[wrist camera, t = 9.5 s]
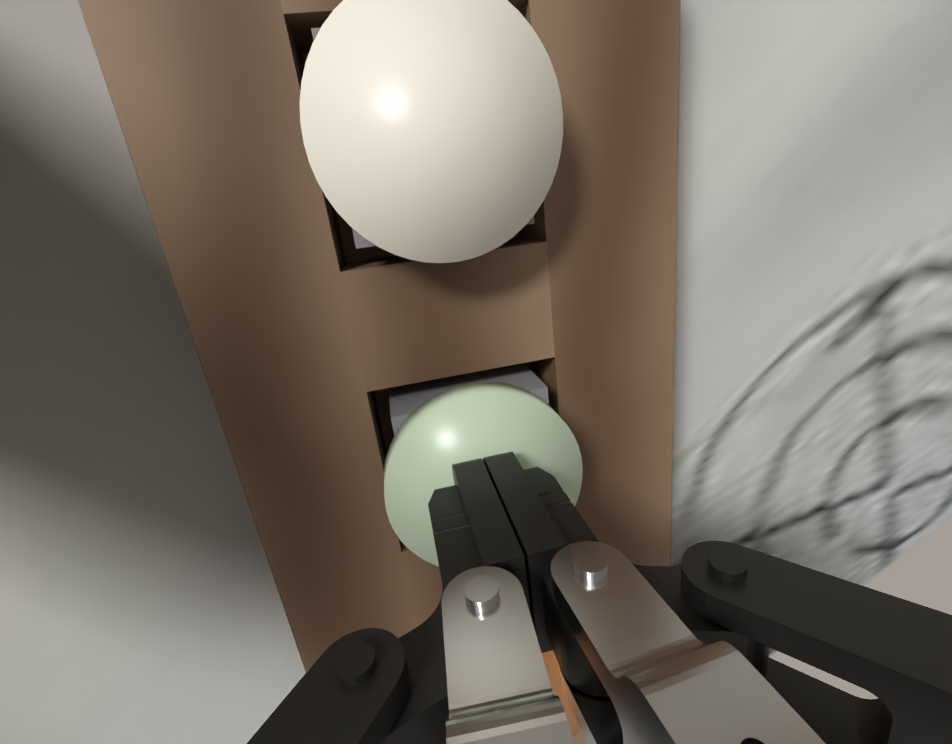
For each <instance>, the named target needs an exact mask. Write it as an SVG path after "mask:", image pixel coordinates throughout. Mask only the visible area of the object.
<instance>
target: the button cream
mask: <svg viewBox="0 0 952 744" xmlns="http://www.w3.org/2000/svg"><path fill="white" fill-rule="evenodd" d="M311 31H312V36H313V41H314V42H313V43H312V46H311V49H310V52H309V54H308V57H307V60H306V63H305V67H304V72H303V77H302V81H301V91H300V124H301V131H302V137H303V143H304V146H305V150H306V153H307V157H308V160H309V163H310V166H311V168H312V171H313V173H314V175H315V178H316V180H317V182H318V184H319V185H320V187H321V189H322V191H323V193H324V194H325V196H326V198H327V199H328V200H329V202H330V203H331V205H332V206H333V207H334V209H335V210H336V211H337V213H338V214H339V215H340V216H341V217H342V218H343V219H344V220H345V221H346V222H347V223H348V224H349V225H350V226H351V227H352V231H353V236H354V241H355V246H356V249H358V248H365V247H372V246H378V247H380V248H382V249H384V250H386V251H388V252H390V253H392V254H394V255H397V256H400V257H404V258H407V259H410V260H415V261H420V262H427V263H451V262H459V261H464V260H468V259H472V258H475V257H478V256H481V255H483V254H486V253H488V252H490V251H492V250H494V249H496V248H498V247H499V246H501V245H502V244H504V243H505V242H507V241H508V240H510V239H511V238H512V237H514V236H515V235H516V234H517V233H518V232H519V231H520V230H521V229H522V228H523V227H524V226H525V225H528V224H535V221H534V215H535V213H536V212H537V210H538V209H539V207H540V206H541V204H542V202H543V201H544V199H545V197H546V195H547V193H548V191H549V189H550V187H551V185H552V182H553V179H554V176H555V174H556V171H557V167H558V163H559V159H560V154H561V148H562V139H563V110H562V101H561V94H560V90H559V86H558V81H557V77H556V74H555V72H554V69H553V66H552V63H551V60H550V58H549V56H548V54H547V52H546V50H545V48H544V46H543V44H542V42H541V40H540V39H539V37H538V36H537V34H536V32H535V31H534V29H533V28H532V26H531V25H530V24H529V23H528V21H527V20H526V19H525V18H524V17H523V15H522V14H521V13H520V12H519V11H518V10H517V9H516V8H515V7H514V6H513V5H512V4H511V3H510V2H509V1H508V0H343V1H342V2H341V3H340V4H339V5H338V6H337V7H336V8H335V9H334V10H333V11H332V13H331V14H330V15H329V17H328V18H327V19H326V21H325V22H324V24H323V25H322V26H321V28H311Z"/></svg>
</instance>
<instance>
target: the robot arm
mask: <svg viewBox="0 0 952 744" xmlns="http://www.w3.org/2000/svg"><path fill="white" fill-rule="evenodd" d="M452 472H453V478H454V484H455V485H453V486H449V487H444V488H440V489H435V490H434V492H433V494H432V496H431V499H430V501H429V503H428V507H429V513H430V519H431V524H432V530H433V535H434V541H435V547H436V552H437V558H438V563H439V569H440V574H441V580H442V588H443V590H442V596H441V599H440V602H439V604H438V606H437V608H436V609H435V611H434V612H433V613H432V615H431V616H430V617H429V618H428V619H427V620H426V621H424V622H423V623H422V624H421V625H419V626H418V627H416V628H415V629H413V630H411V631H410V632H408V633H406V634H404V635H403V636H401V637H399V638H397V637H396V636H395V635H394V634H393V633H391V632H389V631H387V630H384V629H380V628H365V629H360V630H357V631H354V632H351V633H349V634H347V635H345V636H343V637H341V638H340V639H338V640H337V641H335V642H334V643H333V644H332V645H331V646H329V647H328V648H327V649H326V650H325V652H324V653H323V654H322V655H321V656H320V657H319V658H318V660H317V661H316V662H315V663H314V664H313V666H312V667H311V668H310V669H309V670H308V672H307V673H306V674H305V675H304V676H303V677H302V679H301V680H300V681H299V682H298V683H297V685H296V686H295V687H294V688H293V689H292V691H291V692H290V693H289V694H288V695H287V696H286V698H285V699H284V700H283V701H282V702H281V704H280V705H279V706H278V707H277V708H276V710H275V711H274V712H273V713H272V714H271V715H270V717H269V718H268V719H267V720H266V721H265V723H264V724H263V725H262V726H261V727H260V729H259V730H258V731H257V732H256V733H255V734H254V736H253V737H252V738H251V739H250V740H249V742H248V743H247V744H575V742H574V739H573V736H572V733H571V729H570V726H569V723H568V719H567V716H566V713H565V710H564V707H563V705H562V702H561V700H560V698H559V696H558V695H556V696H554V693H553V691H552V688H551V684H550V681H549V677H548V674H547V671H546V667H545V664H544V660H543V657H542V653H544V652H548V651H551V650H553V652H554V654H555V656H556V659H557V661H558V664H559V669H560V680H561V687H562V690H563V693H564V695H565V697H566V700H567V702H568V704H569V706H570V708H571V710H572V712H573V714H574V716H575V718H576V720H577V722H578V725H579V727H580V729H581V731H582V733H583V735H584V737H585V739H586V741H587V743H588V744H952V615H949V614H946V613H943V612H940V611H937V610H934V609H931V608H928V607H925V606H922V605H918V604H916V603H913V602H910V601H907V600H904V599H901V598H897V597H894V596H891V595H888V594H886V593H882V592H879V591H876V590H873V589H870V588H867V587H864V586H861V585H858V584H855V583H852V582H849V581H846V580H843V579H840V578H837V577H834V576H831V575H828V574H825V573H822V572H819V571H816V570H813V569H810V568H806V567H803V566H800V565H797V564H794V563H791V562H788V561H785V560H782V559H779V558H776V557H773V556H770V555H767V554H764V553H761V552H758V551H755V550H752V549H749V548H746V547H743V546H740V545H736V544H733V543H728V542H723V541H706V542H701V543H698V544H695V545H693V546H691V547H690V548H688V549H687V550H686V551H685V553H684V554H683V557H682V566H643V565H637V564H632V563H631V562H630V561H629V559H628V558H627V557H626V556H625V555H624V554H623V553H622V552H620V551H619V550H618V549H616V548H614V547H612V546H610V545H607V544H605V543H601V542H599V541H598V540H597V538H596V537H595V535H594V534H593V532H592V531H591V529H590V528H589V526H588V525H587V524H586V522H585V521H584V519H583V518H582V516H581V515H580V513H579V512H578V510H577V509H576V508H575V506H574V505H573V503H571V502H570V499H569V497H568V496H567V494H566V493H565V492H563V489H562V487H561V486H560V484H559V483H558V481H557V480H556V478H555V477H554V476H553V475H551V474H550V473H548V472H546V471H544V470H543V469H541V468H539V467H534V468H530V469H525V470H523V468H522V466H521V465H520V463H519V461H518V459H517V458H516V456H515V454H514V453H513V452H512V451H511V452H507V453H502V454H497V455H493V456H488V457H483V460H482V459H481V458H479V459H475V460H470V461H465V462H461V463H456V464H452ZM769 647H770V648H773V649H775V650H777V651H779V652H782V653H784V654H786V655H789V656H791V657H793V658H795V659H798V660H800V661H802V662H805V663H807V664H809V665H812V666H814V667H816V668H818V669H821V670H823V671H825V672H827V673H830V674H832V675H834V676H837V677H839V678H841V679H843V680H846V681H848V682H850V683H853V684H855V685H857V686H859V687H862V688H864V689H866V690H868V691H870V692H871V693H873V694H874V695H875V696H877V697H878V699H872V700H870V699H862V698H859V697H855V696H853V695H851V694H849V693H846V692H844V691H842V690H840V689H837V688H835V687H833V686H831V685H828V684H826V683H824V682H822V681H820V680H818V679H815V678H813V677H811V676H809V675H806V674H804V673H802V672H799V671H798V670H795V669H793V668H791V667H789V666H786V665H784V664H782V663H780V662H778V661H775V660H773V659H771V658H769V657H768V656H769Z"/></svg>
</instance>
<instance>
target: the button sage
mask: <svg viewBox="0 0 952 744" xmlns="http://www.w3.org/2000/svg"><path fill="white" fill-rule="evenodd" d="M389 400H390V416H391V422H392V427H393V432H394V438H393V440H392V442H391V444H390V446H389V450H388V453H387V456H386V460H385V467H384V500H385V507H386V512H387V515H388V518H389V522H390V524H391V526H392V528H393V530H394V532H395V533H396V535H397V536H398V537H399V539H400V540H401V542H402V543H403V544H404V545H405V546H406V547H407V548H408V549H409V550H410V551H412V552H413V553H414V554H416V555H417V556H418V557H420V558H422V559H423V560H425V561H427V562H429V563H431V564H434V565H436V566H439V563H438V558H437V552H436V547H435V541H434V535H433V530H432V524H431V519H430V513H429V507H428V503H429V501H430V499H431V496H432V494H433V492H434V490H435V489H440V488H444V487H449V486H453V485H455V484H454V478H453V472H452V464H456V463H461V462H465V461H470V460H475V459H479V458H481V459H482V460H483V457H488V456H493V455H497V454H502V453H507V452H511V451H512V452H513V453H514V454H515V456H516V458H517V459H518V461H519V463H520V465H521V466H522V468H523V470H525V469H530V468H534V467H539V468H541V469H543V470H544V471H546V472H548V473H550V474H551V475H553V476H554V477H555V478H556V480H557V481H558V483H559V484H560V486H561V487H562V489H563V492H565V493H566V494H567V496H568V497H569V499H570V502H571V503H573V505H574V506H575V505H576V502H577V500H578V496H579V493H580V490H581V484H582V474H583V466H582V458H581V453H580V449H579V446H578V443H577V441H576V439H575V437H574V435H573V433H572V431H571V430H570V428H569V427H568V425H567V424H566V423H565V422H564V421H563V420H562V419H561V418H560V416H559V415H558V414H557V413H556V412H555V411H554V410H553V409H552V408H551V407H550V405H549V399H548V387H547V386H546V385H545V384H544V383H543V382H542V381H541V380H540V379H539V378H538V377H537V376H536V375H535V374H534V373H533V372H532V371H531V370H530V369H529V368H528V367H527V366H526V365H525V364H524V363H520V364H515V365H510V366H504V367H499V368H493V369H488V370H483V371H477V372H472V373H466V374H461V375H456V376H450V377H445V378H440V379H434V380H429V381H423V382H418V383H413V384H407V385H402V386H396V387H391V388H389Z"/></svg>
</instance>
